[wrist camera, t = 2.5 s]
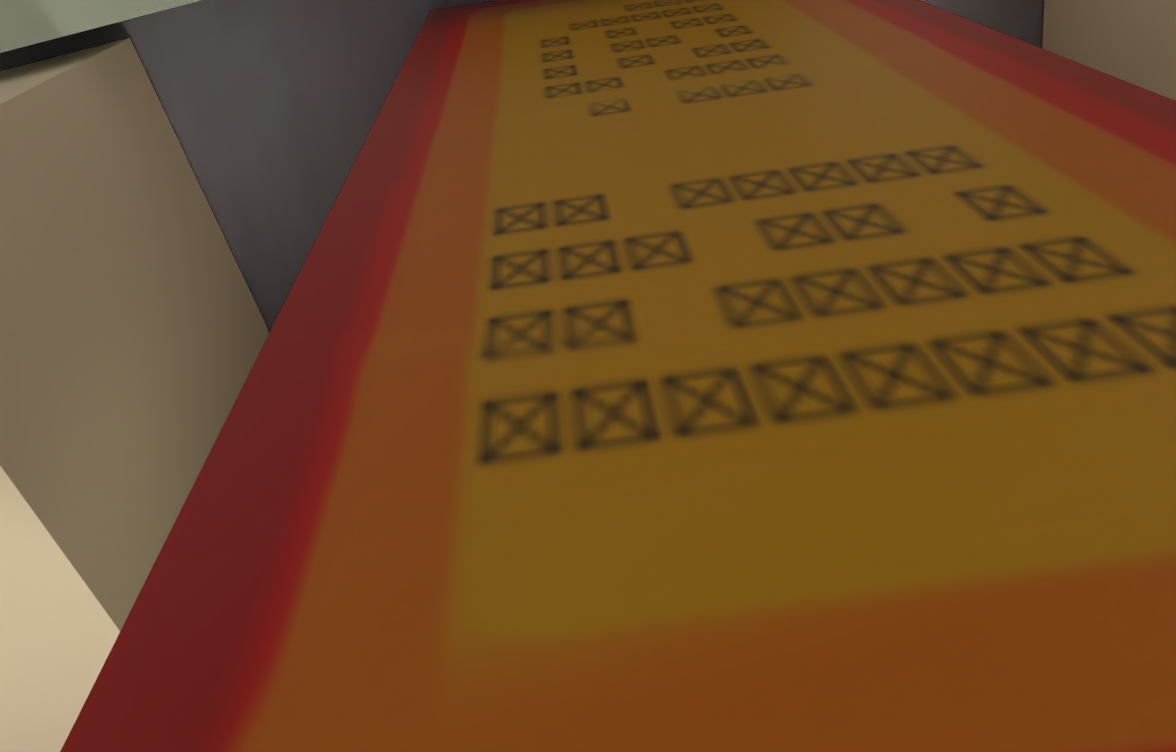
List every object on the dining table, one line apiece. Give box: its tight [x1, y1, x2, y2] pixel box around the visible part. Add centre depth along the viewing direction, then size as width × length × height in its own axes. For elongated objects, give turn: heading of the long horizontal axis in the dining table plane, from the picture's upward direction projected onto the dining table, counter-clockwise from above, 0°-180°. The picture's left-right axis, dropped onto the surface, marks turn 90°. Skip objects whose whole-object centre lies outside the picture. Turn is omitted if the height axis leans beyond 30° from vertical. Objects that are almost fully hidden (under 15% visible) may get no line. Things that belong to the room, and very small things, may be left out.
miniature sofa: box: [0, 0, 1176, 752], centre depth 13 cm, size 22×14×12 cm, turn 103°
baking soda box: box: [60, 0, 1176, 752], centre depth 11 cm, size 10×6×16 cm
